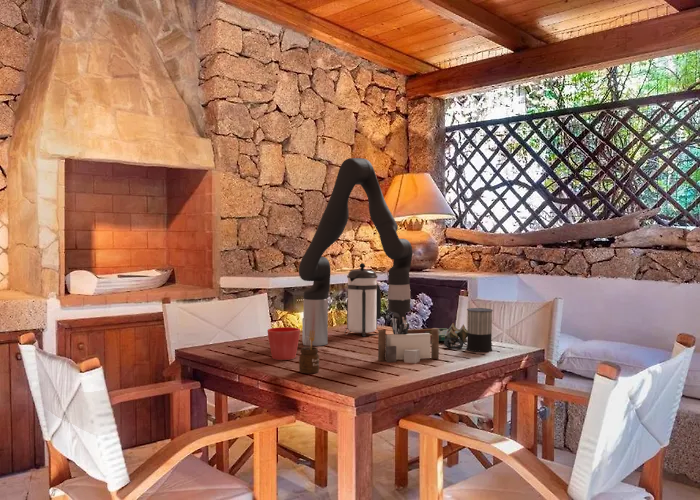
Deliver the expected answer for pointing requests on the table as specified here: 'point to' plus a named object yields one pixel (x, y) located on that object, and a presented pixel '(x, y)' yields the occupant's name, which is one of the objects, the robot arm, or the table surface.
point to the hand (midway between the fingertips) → (400, 348)
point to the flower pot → (283, 342)
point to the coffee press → (363, 301)
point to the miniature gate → (445, 332)
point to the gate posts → (390, 351)
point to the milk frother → (476, 331)
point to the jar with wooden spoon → (309, 358)
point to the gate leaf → (409, 343)
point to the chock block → (411, 355)
